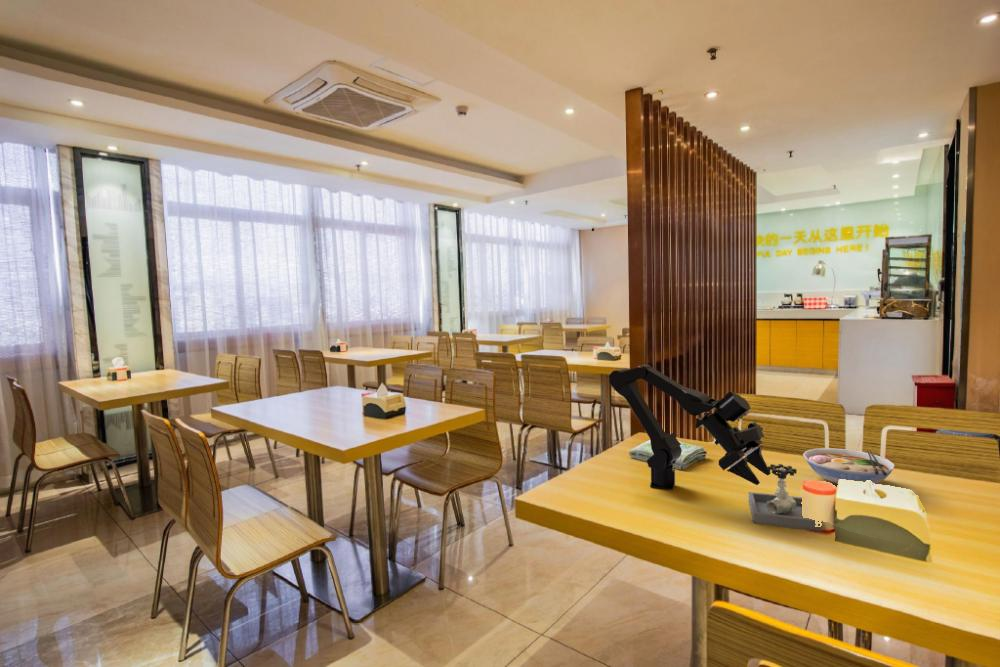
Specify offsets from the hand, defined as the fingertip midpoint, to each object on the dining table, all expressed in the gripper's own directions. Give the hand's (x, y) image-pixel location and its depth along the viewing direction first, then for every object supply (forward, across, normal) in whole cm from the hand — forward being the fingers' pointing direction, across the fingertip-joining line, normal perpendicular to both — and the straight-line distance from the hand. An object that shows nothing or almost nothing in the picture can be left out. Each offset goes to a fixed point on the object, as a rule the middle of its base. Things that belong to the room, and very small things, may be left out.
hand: (764, 479), depth 135 cm
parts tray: (+9, 0, +3) cm, 10 cm away
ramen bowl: (+15, +36, -3) cm, 39 cm away
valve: (+9, 0, +2) cm, 9 cm away
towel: (-21, +26, +34) cm, 48 cm away
